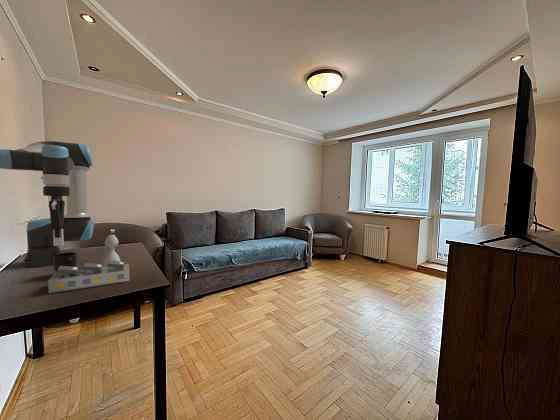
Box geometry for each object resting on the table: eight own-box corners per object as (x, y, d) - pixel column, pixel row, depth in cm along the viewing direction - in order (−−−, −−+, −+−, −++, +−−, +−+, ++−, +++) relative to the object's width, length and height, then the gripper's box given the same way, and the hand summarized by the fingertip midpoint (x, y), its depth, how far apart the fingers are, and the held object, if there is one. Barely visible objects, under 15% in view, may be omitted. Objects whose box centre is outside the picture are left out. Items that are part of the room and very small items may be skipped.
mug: (57, 281, 101) (56, 259, 100) (51, 274, 108) (50, 254, 107) (81, 276, 107) (81, 255, 107) (74, 270, 115) (74, 251, 114)
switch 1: (59, 269, 96) (60, 265, 96) (77, 271, 99) (79, 266, 100) (56, 273, 92) (57, 268, 92) (75, 274, 95) (77, 270, 95)
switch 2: (84, 266, 101) (85, 262, 101) (101, 268, 104) (102, 264, 104) (82, 270, 96) (84, 265, 97) (100, 271, 100) (101, 267, 100)
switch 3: (107, 264, 105) (108, 260, 105) (123, 265, 108) (124, 261, 108) (106, 267, 101) (108, 263, 101) (123, 268, 104) (124, 264, 104)
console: (54, 284, 98) (54, 271, 97) (129, 274, 112) (128, 262, 112) (48, 293, 89) (47, 279, 89) (129, 281, 104) (129, 268, 103)
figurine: (99, 268, 118) (98, 229, 117) (116, 264, 125) (115, 227, 124) (107, 271, 114) (106, 231, 113) (124, 267, 121) (123, 229, 120)
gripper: (47, 185, 95) (49, 243, 97) (38, 185, 84) (40, 249, 86) (72, 186, 99) (73, 241, 101) (66, 186, 88) (68, 247, 90)
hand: (58, 245), depth 93 cm, fingers closed
